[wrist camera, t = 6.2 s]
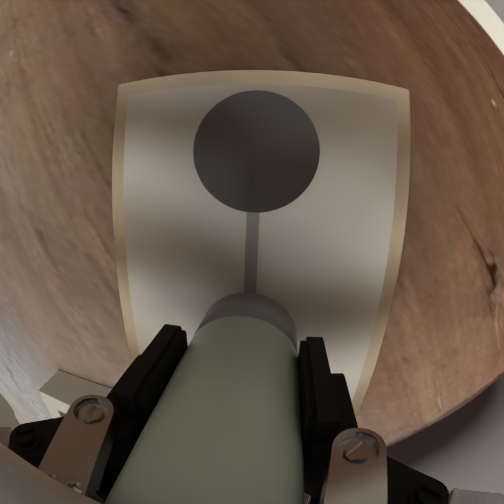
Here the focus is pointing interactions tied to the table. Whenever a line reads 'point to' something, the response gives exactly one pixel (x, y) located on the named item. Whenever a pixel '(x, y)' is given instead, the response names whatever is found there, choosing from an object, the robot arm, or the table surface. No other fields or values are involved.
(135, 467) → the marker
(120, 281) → the board
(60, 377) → the button housing
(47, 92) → the table surface
